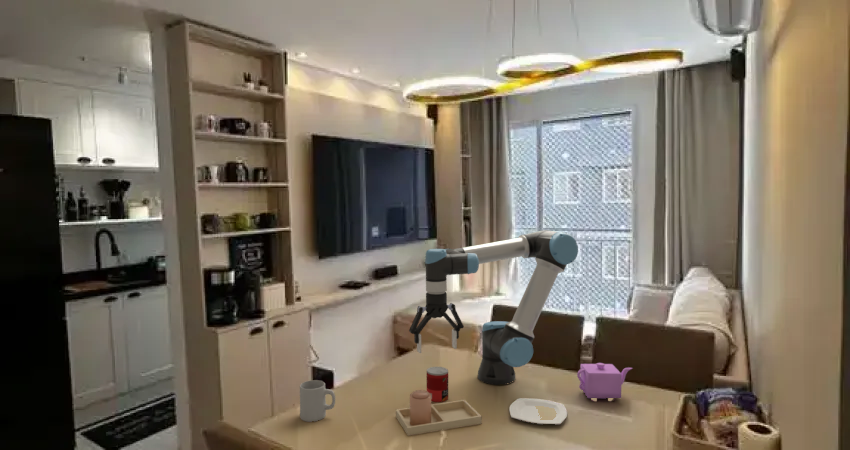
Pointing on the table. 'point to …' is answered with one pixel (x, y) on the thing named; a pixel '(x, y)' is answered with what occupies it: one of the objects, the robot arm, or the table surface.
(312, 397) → the mug
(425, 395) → the jar
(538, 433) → the table surface
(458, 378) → the table surface
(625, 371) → the teapot
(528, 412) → the plate
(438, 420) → the divided tray
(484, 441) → the table surface
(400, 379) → the table surface
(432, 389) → the canned food
